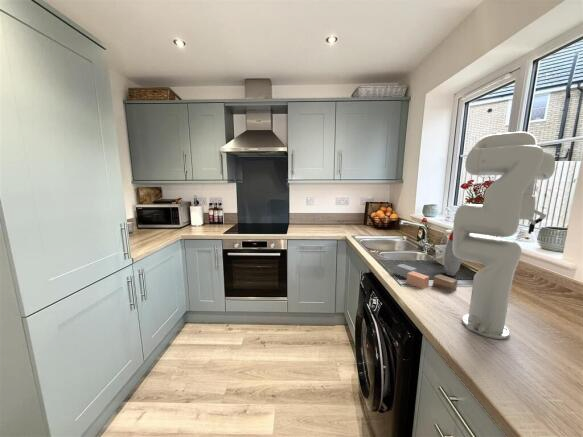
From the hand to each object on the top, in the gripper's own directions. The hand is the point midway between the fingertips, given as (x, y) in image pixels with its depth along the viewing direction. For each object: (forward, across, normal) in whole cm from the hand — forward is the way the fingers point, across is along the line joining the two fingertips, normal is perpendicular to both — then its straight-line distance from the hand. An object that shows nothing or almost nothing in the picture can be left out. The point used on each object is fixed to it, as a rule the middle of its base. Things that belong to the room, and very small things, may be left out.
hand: (513, 231), depth 102 cm
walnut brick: (+28, -20, -14) cm, 38 cm away
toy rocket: (+28, -21, +8) cm, 36 cm away
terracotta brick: (+28, -31, -19) cm, 46 cm away
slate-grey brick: (+28, -38, -12) cm, 49 cm away
